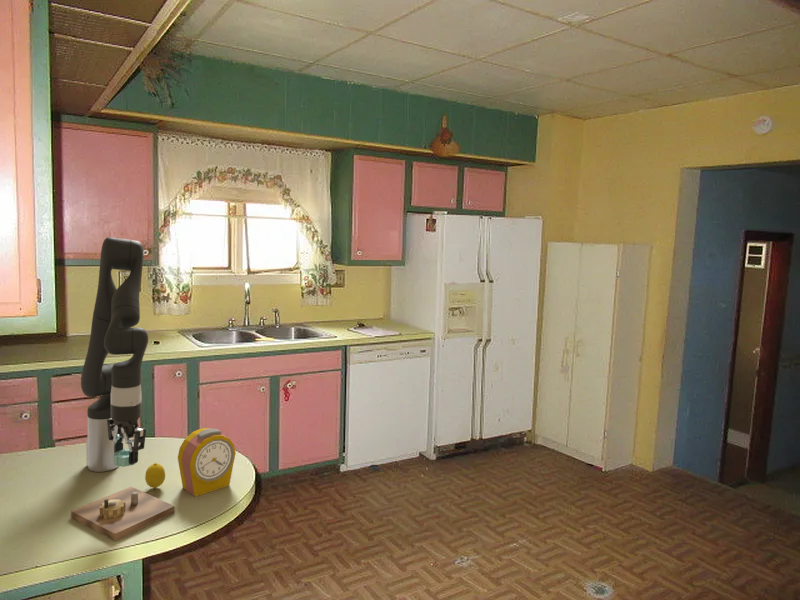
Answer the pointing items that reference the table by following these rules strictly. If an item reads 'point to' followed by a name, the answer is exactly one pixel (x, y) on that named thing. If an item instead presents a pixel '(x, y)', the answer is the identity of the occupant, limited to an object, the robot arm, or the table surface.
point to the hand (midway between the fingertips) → (126, 459)
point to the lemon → (155, 475)
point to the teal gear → (122, 458)
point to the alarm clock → (206, 461)
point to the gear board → (122, 513)
